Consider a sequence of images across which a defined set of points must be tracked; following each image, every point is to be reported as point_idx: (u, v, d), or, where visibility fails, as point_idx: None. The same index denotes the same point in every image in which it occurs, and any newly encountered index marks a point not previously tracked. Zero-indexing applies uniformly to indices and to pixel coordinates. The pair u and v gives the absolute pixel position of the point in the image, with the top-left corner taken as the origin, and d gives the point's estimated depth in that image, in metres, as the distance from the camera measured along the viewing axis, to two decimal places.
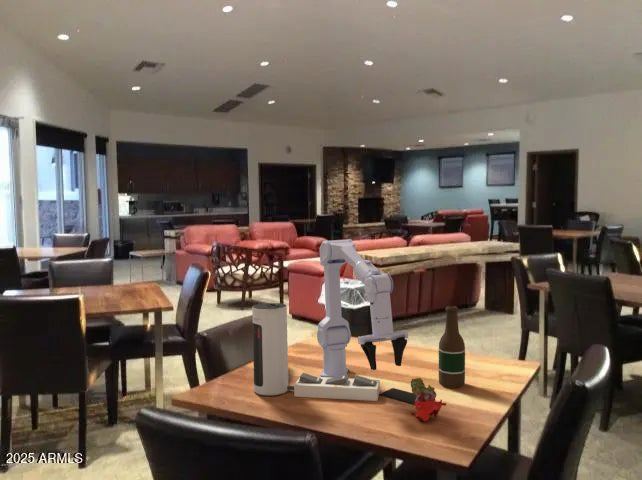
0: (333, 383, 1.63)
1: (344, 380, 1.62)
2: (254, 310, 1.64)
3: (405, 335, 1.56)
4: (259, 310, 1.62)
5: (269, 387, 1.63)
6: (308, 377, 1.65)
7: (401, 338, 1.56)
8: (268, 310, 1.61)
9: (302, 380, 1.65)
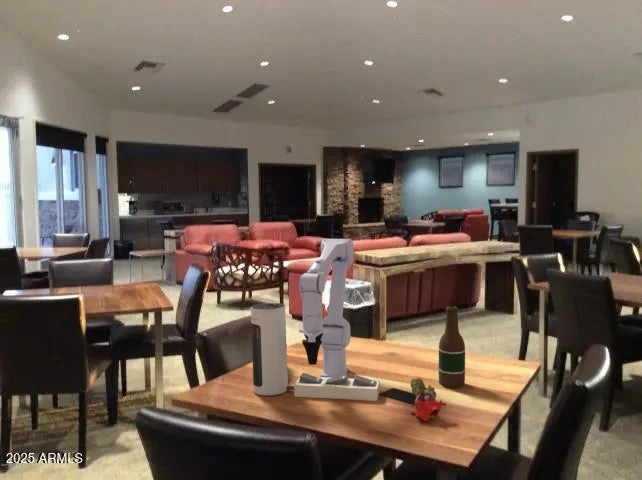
0: (333, 383, 1.63)
1: (344, 380, 1.62)
2: (253, 310, 1.64)
3: None
4: (258, 310, 1.62)
5: (268, 387, 1.63)
6: (308, 377, 1.65)
7: None
8: (267, 310, 1.61)
9: (302, 380, 1.65)
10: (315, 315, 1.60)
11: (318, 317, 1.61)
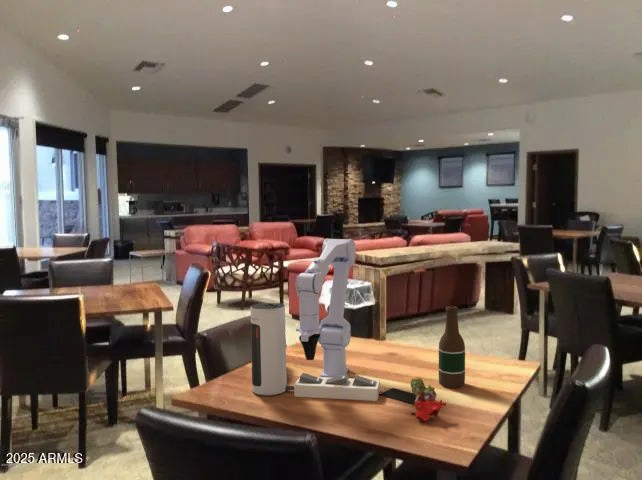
0: (333, 383, 1.63)
1: (344, 380, 1.62)
2: (252, 310, 1.64)
3: None
4: (257, 310, 1.62)
5: (267, 387, 1.63)
6: (308, 377, 1.65)
7: None
8: (266, 310, 1.61)
9: (302, 380, 1.65)
10: (311, 315, 1.61)
11: (313, 317, 1.62)
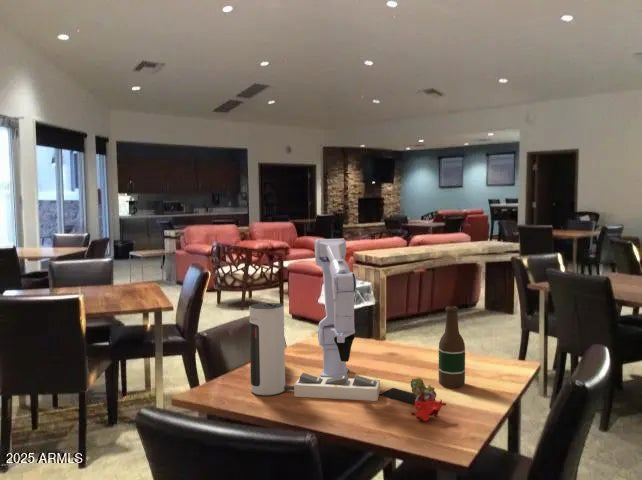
0: (333, 383, 1.63)
1: (344, 380, 1.62)
2: (251, 310, 1.64)
3: None
4: (256, 310, 1.62)
5: (266, 386, 1.63)
6: (308, 377, 1.65)
7: None
8: (265, 310, 1.62)
9: (302, 380, 1.65)
10: (351, 315, 1.60)
11: (349, 318, 1.60)
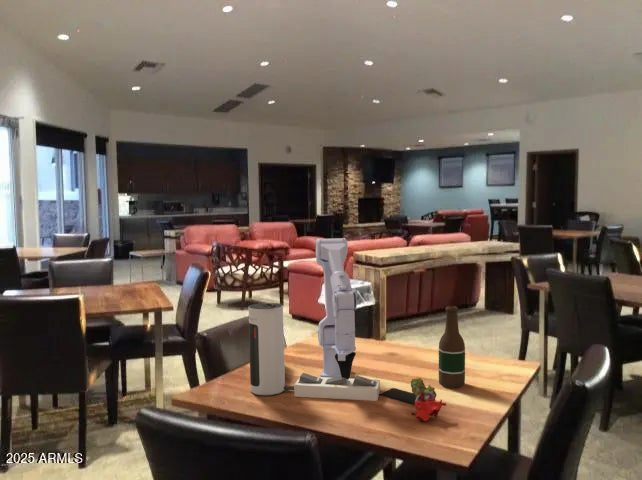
0: (333, 383, 1.63)
1: (344, 380, 1.62)
2: (250, 310, 1.64)
3: None
4: (255, 310, 1.62)
5: (265, 386, 1.63)
6: (308, 377, 1.65)
7: None
8: (264, 310, 1.62)
9: (302, 380, 1.65)
10: (352, 332, 1.61)
11: (350, 335, 1.60)
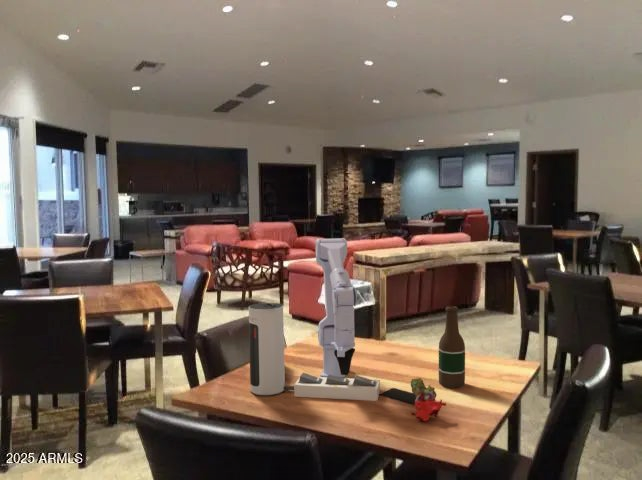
0: (333, 382, 1.63)
1: (345, 384, 1.62)
2: (250, 310, 1.64)
3: None
4: (255, 310, 1.62)
5: (265, 386, 1.63)
6: (308, 377, 1.65)
7: None
8: (264, 310, 1.62)
9: (302, 380, 1.65)
10: (351, 329, 1.61)
11: (349, 331, 1.60)
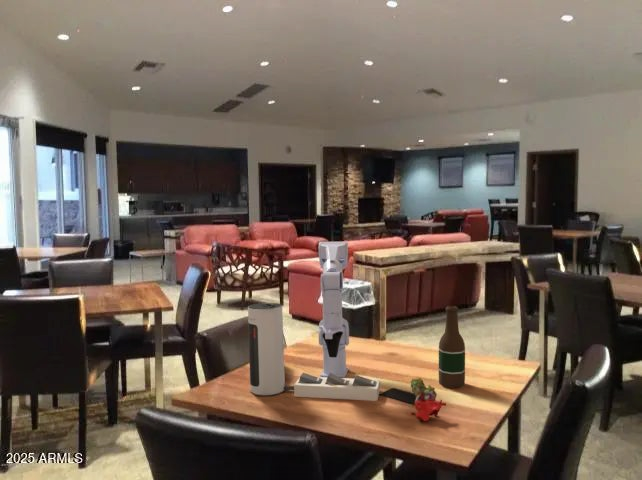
0: (333, 381, 1.63)
1: None
2: (250, 310, 1.64)
3: None
4: (255, 310, 1.62)
5: (265, 386, 1.63)
6: (308, 377, 1.65)
7: None
8: (264, 310, 1.62)
9: (302, 380, 1.65)
10: (338, 312, 1.65)
11: (337, 315, 1.64)
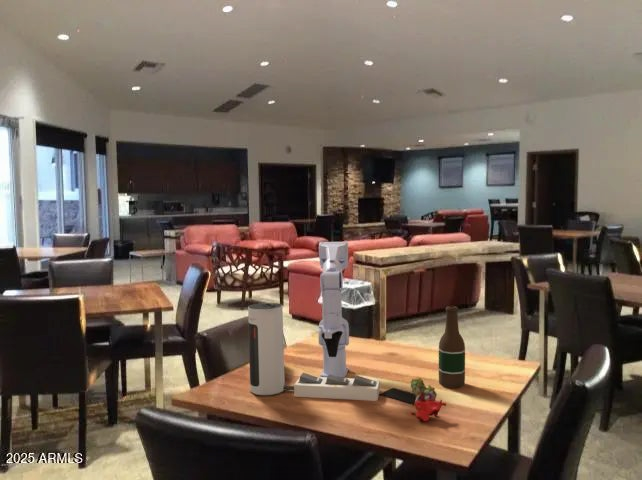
0: (333, 382, 1.63)
1: (344, 384, 1.62)
2: (250, 310, 1.64)
3: None
4: (255, 310, 1.62)
5: (265, 386, 1.63)
6: (308, 377, 1.65)
7: None
8: (264, 310, 1.62)
9: (302, 380, 1.65)
10: (337, 312, 1.65)
11: (336, 314, 1.65)
